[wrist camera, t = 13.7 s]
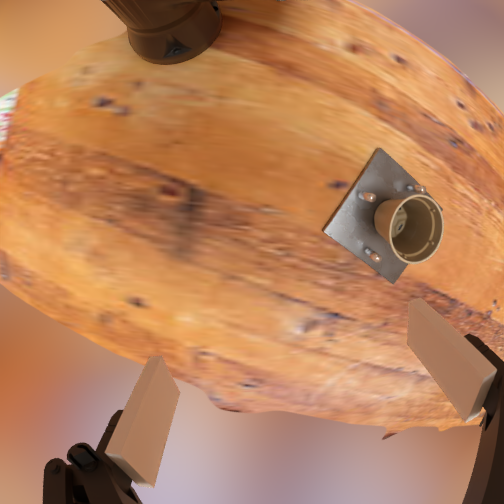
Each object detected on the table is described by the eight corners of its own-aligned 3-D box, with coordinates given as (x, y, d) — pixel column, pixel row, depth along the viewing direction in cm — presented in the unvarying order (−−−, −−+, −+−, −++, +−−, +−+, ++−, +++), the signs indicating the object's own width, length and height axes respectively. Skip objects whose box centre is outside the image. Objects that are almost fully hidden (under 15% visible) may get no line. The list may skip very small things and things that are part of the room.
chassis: (321, 230, 42) (330, 238, 37) (377, 148, 39) (392, 145, 34) (390, 281, 45) (403, 293, 40) (439, 208, 41) (456, 212, 36)
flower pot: (418, 195, 40) (449, 202, 31) (407, 251, 42) (435, 267, 34) (370, 183, 39) (396, 187, 31) (359, 243, 42) (382, 260, 33)
